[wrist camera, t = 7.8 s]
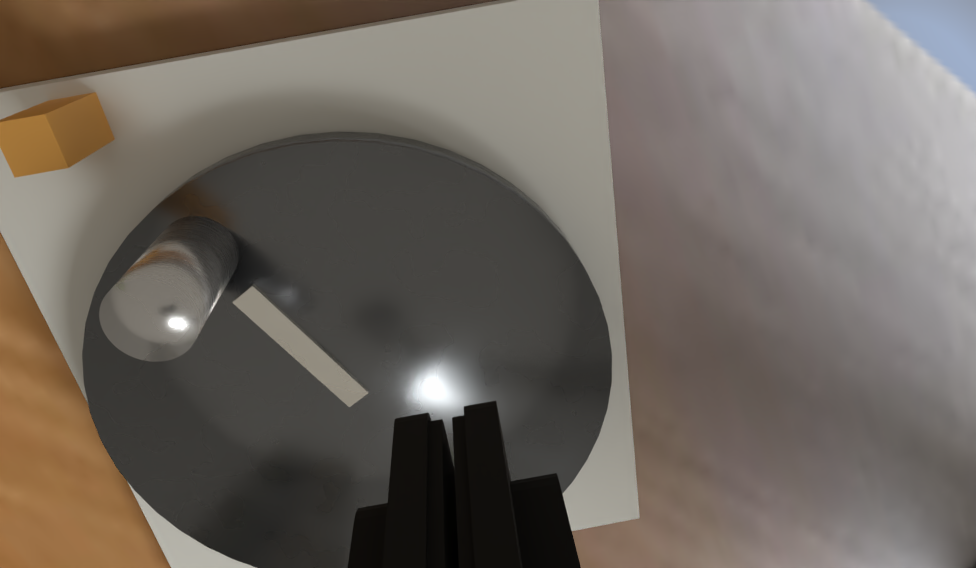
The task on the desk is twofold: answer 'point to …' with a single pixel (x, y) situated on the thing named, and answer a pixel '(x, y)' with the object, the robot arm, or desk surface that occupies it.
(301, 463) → the dial
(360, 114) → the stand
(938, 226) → the desk surface
